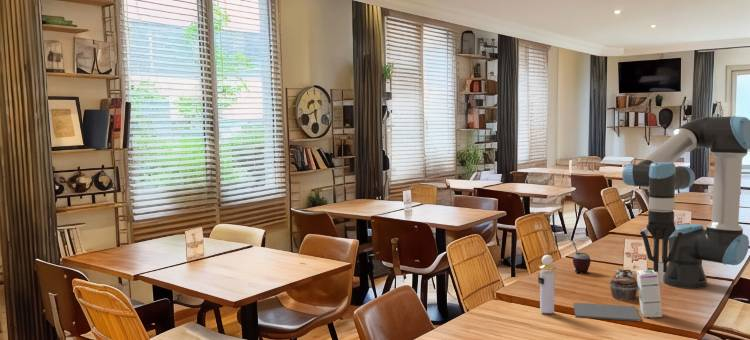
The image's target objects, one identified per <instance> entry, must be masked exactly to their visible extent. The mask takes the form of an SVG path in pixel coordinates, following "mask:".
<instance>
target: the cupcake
mask: <svg viewBox="0 0 750 340" xmlns="http://www.w3.org/2000/svg"><path fill="white" fill-rule="evenodd" d="M609 286H610V293H611V298H613V299H614V298H615V299H614V300H617V299H618V300H619V301H623V300H627V301H626V302H628V301H629V300H632V301H635V300H636V297H637V293H638V282H637V277H636V275H635V274H634V273H633V271H632V270H631V269H616V270H615V274H614V275H613V276H612V278H611V281H610V283H609ZM629 302H630V301H629Z"/></svg>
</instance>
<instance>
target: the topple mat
mask: <svg viewBox="0 0 750 340" xmlns="http://www.w3.org/2000/svg"><path fill="white" fill-rule="evenodd" d="M573 304H574V305H573ZM573 304H572V305H573V311H574V316H575V318H582V319H583V318H584V319H586V318H587V319H596V320H597V319H600V320H610V321H611V320H612V321H613V320H614V321H627V322H629V321H630V322H639V321H638V320H641V321H642V318H641V316H640V315H639V312H638V310H637V308H636V306H635V305H634V306H633V305H621V304H620V305H618V304H607V303H606V304H604V303H590V302H589V303H588V302H586V303H584V302H573ZM635 320H637V321H635Z"/></svg>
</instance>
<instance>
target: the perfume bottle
mask: <svg viewBox="0 0 750 340" xmlns="http://www.w3.org/2000/svg"><path fill="white" fill-rule="evenodd" d="M553 258H554V257H552V255H550V254H544V255H543V256H542V258H541V263H542V264H538V265H537V266H538V269H540V271H539V274H538V276H537V277H538V282H537V283H538V284H539V311H540V312H541V313H544V314H553V313H555V270H556V269H557V265H555V264H553V263H554V259H553Z"/></svg>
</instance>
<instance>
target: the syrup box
mask: <svg viewBox="0 0 750 340" xmlns="http://www.w3.org/2000/svg"><path fill="white" fill-rule="evenodd" d="M636 282H638V290H637V293H638V301H639V311H640V313H641V315H642V314H643V315H642V316H643V318H647V317H650V318H662V317H663V309H662V308H663V307H662V299H661V290H660V283H659V279H658V274H657V272H655V271H654V269H641V270H640V269H639V270H636Z"/></svg>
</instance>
